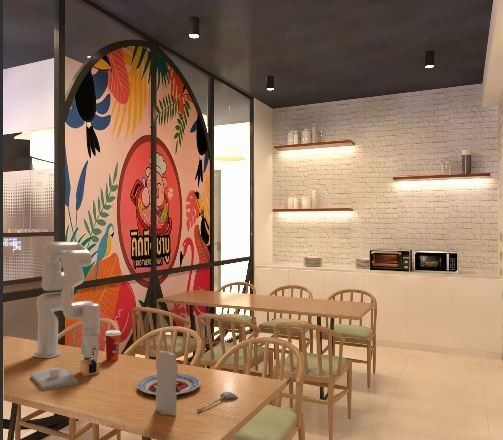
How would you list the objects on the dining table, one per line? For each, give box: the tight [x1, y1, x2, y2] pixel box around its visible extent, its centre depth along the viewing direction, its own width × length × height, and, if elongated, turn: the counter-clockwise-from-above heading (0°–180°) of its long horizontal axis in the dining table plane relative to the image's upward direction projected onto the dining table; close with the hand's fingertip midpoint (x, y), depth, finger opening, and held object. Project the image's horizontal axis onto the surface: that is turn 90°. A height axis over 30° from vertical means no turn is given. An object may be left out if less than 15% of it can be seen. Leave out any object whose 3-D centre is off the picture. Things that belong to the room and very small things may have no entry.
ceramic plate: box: [136, 373, 201, 396], centre depth 194 cm, size 26×26×3 cm
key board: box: [30, 367, 79, 392], centre depth 200 cm, size 20×14×5 cm
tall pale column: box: [155, 350, 179, 417], centre depth 169 cm, size 11×4×22 cm, turn 56°
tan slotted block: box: [79, 359, 101, 377], centre depth 212 cm, size 7×7×5 cm
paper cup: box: [104, 329, 122, 362], centre depth 233 cm, size 8×8×14 cm
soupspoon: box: [196, 391, 239, 414], centre depth 178 cm, size 22×3×7 cm
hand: (89, 370), depth 212 cm, fingers closed on tan slotted block, 6 cm apart
